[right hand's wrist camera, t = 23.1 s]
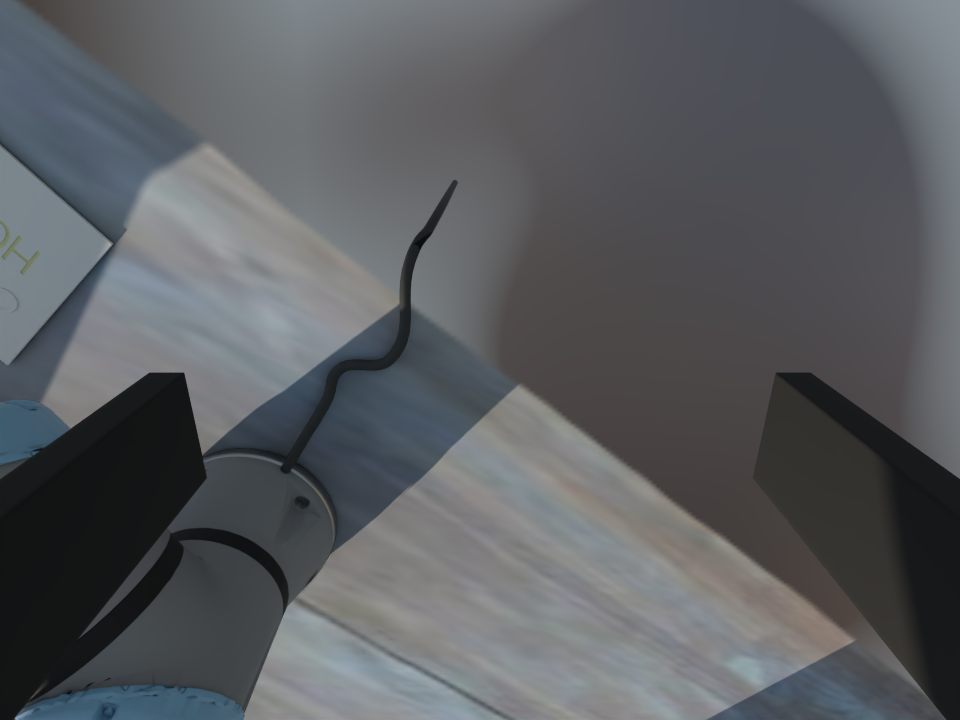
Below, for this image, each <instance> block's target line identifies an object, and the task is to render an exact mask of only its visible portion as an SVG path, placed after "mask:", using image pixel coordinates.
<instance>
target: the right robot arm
mask: <svg viewBox="0 0 960 720" xmlns="http://www.w3.org/2000/svg"><path fill="white" fill-rule="evenodd" d="M457 184H458V182H457V180H453V181H452V183H451V184H450V186H449V188H448V189H447V191H446V192H445V194H444V196H443V197H442V199H441V200H440V202H439V204H438V205H437V207H436V209H435V210H434V212H433V213H432V215H431V217H430V218H429V220H428V222H427V223H426V225H425V226H424V228H423V229H422V230H421V231H420V232H419V233H418V234H417V235H416V237H415V238H414V240H413V241H412V243H411V245H410V247H409V250H408V252H407V255H406V258H405V261H404V264H403V268H402V273H401V279H400V326H399V333H398V337H397V340H396V342H395V345H394V346H393V348H392V349H391V351H390V352H389V353H388V354H387V355H386V356H385V357H384V358H382V359H380V360H347V361H344V362H341V363H339V364H337V365H336V366H335V367H334V368H333V369H332V370H331V371H330V373H329V375H328V378H327V382H326V388H325V392H324V395H323V397H322V399H321V401H320V403H319V405H318V407H317V408H316V410H315V412H314V413H313V415H312V417H311V418H310V420H309V421H308V423H307V425H306V426H305V428H304V429H303V431H302V433H301V434H300V436H299V438H298V439H297V441H296V443H295V444H294V446H293V448H292V449H291V451H290V453H289V454H288V456H287V458H285V457H282V456H280V455H277V454H274V453H270V452H267V451H262V450H255V449H230V450H224V451H219V452H216V453H213V454H210V455H208V456H206V457H204V458H203V457H202V452H201V448H200V443H199V439H198V434H197V429H196V425H195V420H194V416H193V411H192V406H191V402H190V397H189V393H188V388H187V384H186V379H185V374H184V373H148V374H147V375H146V376H144V377H143V378H141V379H140V380H139V381H137V382H136V383H134V384H133V385H132V386H130V387H129V388H127V389H126V390H125V391H123V392H122V393H120V394H119V395H118V396H116V397H115V398H113V399H112V400H111V401H109V402H108V403H106V404H105V405H104V406H102V407H101V408H99V409H98V410H96V411H95V412H94V413H92V414H91V415H89V416H88V417H87V418H85V419H84V420H82V421H81V422H80V423H78V424H77V425H75V426H74V427H73V428H70V427H68V426H67V425H66V424H65V423H64V422H63V421H62V420H61V419H60V418H59V417H58V416H57V415H56V414H55V413H54V412H53V411H52V410H51V409H49V408H48V407H47V406H45V405H43V404H41V403H38V402H35V401H31V400H10V401H5V402H1V403H0V720H243V719H244V716H245V715H244V713H245V710H246V708H247V705H248V703H249V700H250V698H251V695H252V693H253V690H254V688H255V685H256V682H257V680H258V677H259V675H260V672H261V670H262V667H263V665H264V662H265V660H266V657H267V655H268V652H269V650H270V647H271V645H272V642H273V640H274V637H275V635H276V632H277V630H278V627H279V625H280V622H281V620H282V617H283V615H284V612H285V610H286V608H287V606H288V605H289V604H290V603H291V602H292V601H293V600H294V599H295V598H296V597H297V595H298V594H299V593H300V592H301V591H302V590H303V589H304V588H305V587H306V586H307V585H308V584H309V583H311V582H312V581H313V580H314V579H313V578H314V577H315V576H316V575H317V574H318V573H319V571H320V570H321V569H322V567H323V565H324V564H325V562H326V560H327V559H328V557H329V555H330V552H331V550H332V547H333V544H334V541H335V538H336V533H337V518H336V512H335V509H334V506H333V503H332V501H331V499H330V497H329V495H328V493H327V492H326V490H325V489H324V487H323V486H322V485H321V484H320V483H319V481H318V480H317V479H316V478H315V477H314V476H313V475H312V474H310V473H309V472H308V471H307V470H305V469H304V468H303V467H301V466H300V465H298V464H296V461H297V459H298V458H299V456H300V454H301V453H302V451H303V449H304V448H305V446H306V444H307V443H308V441H309V439H310V438H311V436H312V434H313V433H314V431H315V430H316V428H317V426H318V425H319V423H320V422H321V420H322V419H323V417H324V415H325V414H326V412H327V410H328V408H329V406H330V404H331V403H332V400H333V398H334V395H335V390H336V385H337V381H338V379H339V377H340V376H341V375H342V374H343V373H344V372H346V371H349V370H381V369H385V368H387V367H389V366H390V365H392V364H393V363H394V362H395V361H396V360H397V359H398V358H399V357H400V355H401V354H402V352H403V350H404V349H405V346H406V344H407V341H408V337H409V333H410V321H411V280H412V273H413V269H414V265H415V262H416V259H417V257H418V254H419V252H420V250H421V248H422V246H423V245H424V243H425V242H426V241H427V239H428V238H429V237H430V236H431V235H432V233H433V231H434V229H435V228H436V226H437V224H438V222H439V220H440V218H441V217H442V215H443V213H444V211H445V209H446V207H447V205H448V203H449V201H450V199H451V197H452V194H453V192H454V190H455V188H456V186H457ZM753 479H754V480H755V481H756V483H757V484H758V485H759V486H760V488H761V489H762V490H763V491H764V492H765V494H766V495H767V496H768V497H769V499H770V500H771V501H772V503H773V504H774V505H775V506H776V507H777V509H778V510H779V511H780V512H781V514H782V515H783V516H784V517H785V519H786V520H787V521H788V522H789V524H790V525H791V526H792V527H793V529H794V530H795V531H796V532H797V534H798V535H799V536H800V537H801V539H802V540H803V541H804V542H805V544H806V545H807V546H808V547H809V549H810V550H811V551H812V552H813V554H814V555H815V556H816V557H817V559H818V560H819V561H820V562H821V564H822V565H823V566H824V567H825V569H826V570H827V571H828V572H829V574H830V575H831V576H832V577H833V579H834V580H835V581H836V582H837V584H838V585H839V586H840V587H841V589H842V590H843V591H844V592H845V594H846V595H847V596H848V597H849V599H850V600H851V601H852V602H853V604H854V605H855V606H856V607H857V609H858V610H859V611H860V612H861V614H862V615H863V616H864V617H865V619H866V620H867V621H868V622H869V624H870V625H871V626H872V627H873V629H874V630H875V631H876V632H877V634H878V635H879V636H880V637H881V639H882V640H883V641H884V642H885V644H886V645H887V646H888V647H889V649H890V650H891V651H892V652H893V653H894V655H895V656H896V657H897V659H898V660H899V661H900V662H901V664H902V665H903V666H904V667H905V668H906V670H907V671H908V672H909V673H910V675H911V676H912V677H913V678H914V680H915V681H916V682H917V683H918V685H919V686H920V687H921V688H922V690H923V691H924V692H925V693H926V695H927V696H928V697H929V698H930V700H931V701H932V702H933V703H934V705H935V706H936V707H937V708H938V710H939V711H940V712H941V713H942V715H943V716H944V717H945V718H946V720H960V479H959V478H958V477H956V476H955V475H953V474H952V473H951V472H949V471H948V470H946V469H945V468H944V467H942V466H941V465H939V464H938V463H937V462H935V461H934V460H932V459H931V458H930V457H928V456H927V455H925V454H924V453H922V452H921V451H920V450H918V449H917V448H915V447H914V446H913V445H911V444H910V443H908V442H907V441H906V440H904V439H903V438H901V437H900V436H899V435H897V434H896V433H894V432H893V431H891V430H890V429H889V428H887V427H886V426H885V425H883V424H882V423H880V422H879V421H878V420H876V419H875V418H873V417H872V416H871V415H869V414H868V413H866V412H865V411H864V410H862V409H861V408H859V407H858V406H856V405H855V404H854V403H852V402H851V401H849V400H848V399H847V398H845V397H844V396H842V395H841V394H840V393H838V392H837V391H835V390H834V389H833V388H831V387H830V386H828V385H827V384H825V383H824V382H823V381H821V380H820V379H819V378H817V377H816V376H814V375H813V374H812V373H776V375H775V379H774V384H773V388H772V393H771V397H770V402H769V407H768V411H767V416H766V420H765V425H764V430H763V434H762V439H761V443H760V448H759V452H758V457H757V461H756V466H755V471H754V475H753ZM312 579H313V580H312ZM306 588H307V587H306ZM306 588H305V589H306ZM305 589H304V590H305ZM304 590H303V591H304ZM295 600H296V599H295Z"/></svg>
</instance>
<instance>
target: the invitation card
mask: <svg viewBox="0 0 960 720" xmlns="http://www.w3.org/2000/svg"><path fill="white" fill-rule="evenodd" d="M112 245H113V243H112V242H111V241H110V240H109V239H107V238H106V237H105V236H104V235H103V234H102V233H101V232H99V231H98V230H97V229H96V228H95V227H94V226H93V225H91V224H90V223H89V222H88V221H87V220H86V219H85V218H83V217H82V216H81V215H80V214H79V213H78V212H77V211H76V210H74V209H73V208H72V207H71V206H70V205H69V204H68V203H66V202H65V201H64V200H63V199H62V198H61V197H60V196H58V195H57V194H56V193H55V192H54V191H53V190H52V189H50V188H49V187H48V186H47V185H46V184H45V183H44V182H43V181H41V180H40V179H39V178H38V177H37V176H36V175H35V174H33V173H32V172H31V171H30V170H29V169H28V168H27V167H25V166H24V165H23V164H22V163H21V162H20V161H19V160H17V159H16V158H15V157H14V156H13V155H12V154H11V153H10V152H8V151H7V150H6V149H5V148H4V147H3V146H2V145H0V360H1V361H2V362H4V363H5V364H6V365H7V366H8V365H10V364H11V362H12V361H13V360H14V359H15V358H16V357H17V355H18V354H19V353H20V352H21V351H22V350H23V348H24V347H25V346H26V345H27V344H28V343H29V341H30V340H31V339H32V338H33V337H34V336H35V335H36V333H37V332H38V331H39V330H40V329H41V328H42V326H43V325H44V324H45V323H46V322H47V321H48V319H49V318H50V317H51V316H52V315H53V314H54V312H55V311H56V310H57V309H58V308H59V307H60V306H61V304H62V303H63V302H64V301H65V300H66V299H67V297H68V296H69V295H70V294H71V293H72V292H73V290H74V289H75V288H76V287H77V286H78V285H79V283H80V282H81V281H82V280H83V279H84V278H85V276H86V275H87V274H88V273H89V272H90V271H91V270H92V268H93V267H94V266H95V265H96V264H97V263H98V261H99V260H100V259H101V258H102V257H103V256H104V254H105V253H106V252H107V251H108V250H109V249H110V247H111V246H112Z"/></svg>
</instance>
